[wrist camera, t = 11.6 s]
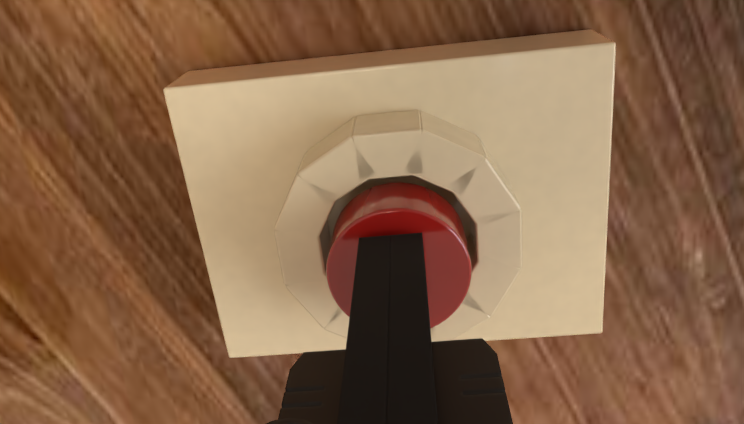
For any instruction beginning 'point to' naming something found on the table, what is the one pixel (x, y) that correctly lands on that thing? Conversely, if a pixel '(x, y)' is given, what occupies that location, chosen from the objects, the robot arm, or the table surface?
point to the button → (404, 216)
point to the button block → (404, 179)
